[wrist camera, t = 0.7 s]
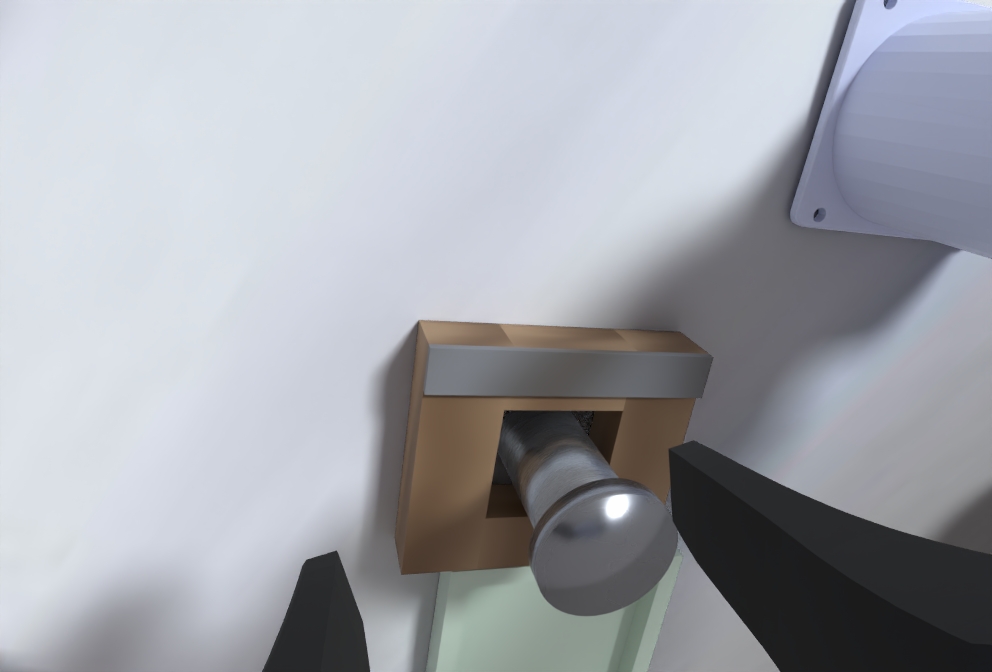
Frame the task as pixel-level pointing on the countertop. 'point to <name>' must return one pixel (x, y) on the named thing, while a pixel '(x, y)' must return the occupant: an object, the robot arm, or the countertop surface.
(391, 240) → the countertop surface
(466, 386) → the block
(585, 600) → the pin
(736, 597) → the robot arm
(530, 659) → the tray
